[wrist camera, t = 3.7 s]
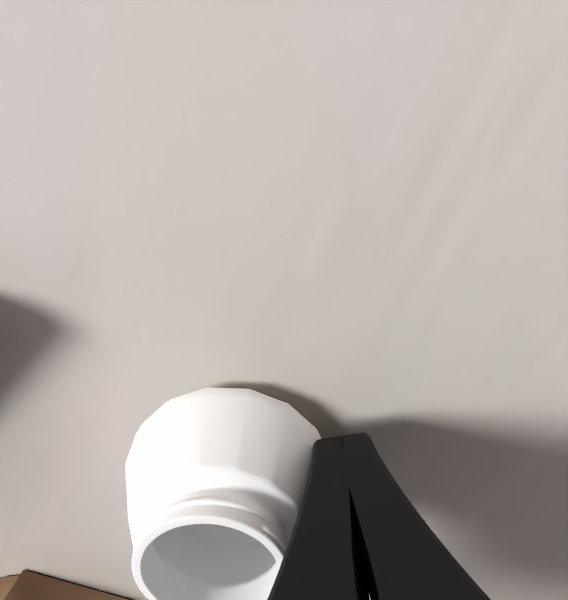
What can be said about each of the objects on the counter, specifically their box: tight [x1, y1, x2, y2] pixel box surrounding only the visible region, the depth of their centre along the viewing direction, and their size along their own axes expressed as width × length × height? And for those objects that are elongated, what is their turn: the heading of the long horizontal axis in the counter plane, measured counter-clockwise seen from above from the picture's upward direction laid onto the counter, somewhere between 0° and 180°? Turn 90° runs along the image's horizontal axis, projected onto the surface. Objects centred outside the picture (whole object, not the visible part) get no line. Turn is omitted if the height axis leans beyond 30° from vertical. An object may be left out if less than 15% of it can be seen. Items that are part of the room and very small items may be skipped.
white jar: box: [125, 387, 321, 600], centre depth 9 cm, size 5×3×5 cm
